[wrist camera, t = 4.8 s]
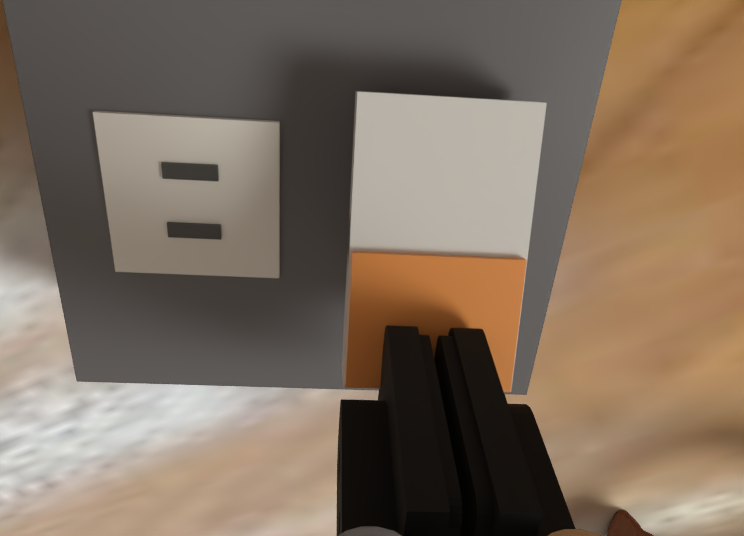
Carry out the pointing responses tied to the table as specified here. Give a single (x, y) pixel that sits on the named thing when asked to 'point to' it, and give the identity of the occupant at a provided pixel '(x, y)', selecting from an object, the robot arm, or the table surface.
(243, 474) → the table surface
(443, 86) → the power strip
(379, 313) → the rocker
